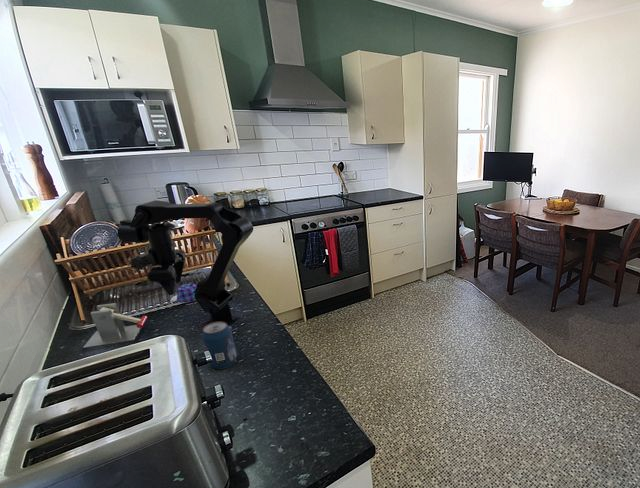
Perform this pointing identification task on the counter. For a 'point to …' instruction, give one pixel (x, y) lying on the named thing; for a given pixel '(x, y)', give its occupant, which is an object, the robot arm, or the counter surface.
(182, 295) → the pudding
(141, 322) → the switch lever
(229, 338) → the soda can
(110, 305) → the switch bracket
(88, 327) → the counter surface
